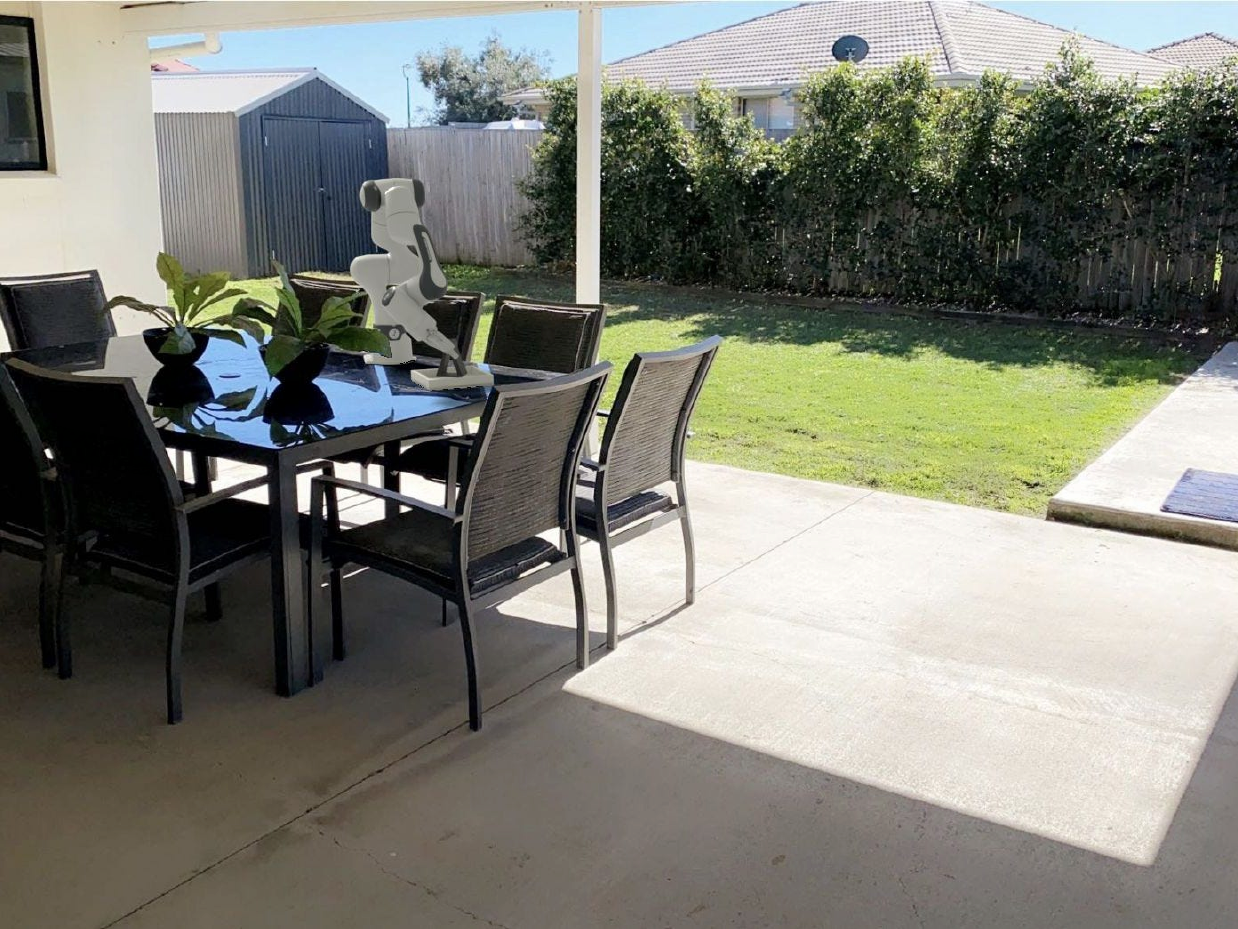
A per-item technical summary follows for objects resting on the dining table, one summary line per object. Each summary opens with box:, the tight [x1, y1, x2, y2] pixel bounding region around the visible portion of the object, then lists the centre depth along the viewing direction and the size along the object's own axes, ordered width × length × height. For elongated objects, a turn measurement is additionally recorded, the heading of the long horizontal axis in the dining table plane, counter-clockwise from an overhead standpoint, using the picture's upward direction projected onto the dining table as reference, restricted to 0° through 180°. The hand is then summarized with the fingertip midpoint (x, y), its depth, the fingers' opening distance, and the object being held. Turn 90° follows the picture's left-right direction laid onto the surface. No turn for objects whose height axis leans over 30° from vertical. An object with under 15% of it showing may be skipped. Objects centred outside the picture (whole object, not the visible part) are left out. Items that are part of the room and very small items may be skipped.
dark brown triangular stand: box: [436, 337, 467, 377], centre depth 383 cm, size 9×6×12 cm, turn 82°
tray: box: [410, 365, 495, 392], centre depth 384 cm, size 20×22×4 cm
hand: (452, 355), depth 383 cm, fingers closed on dark brown triangular stand, 6 cm apart
